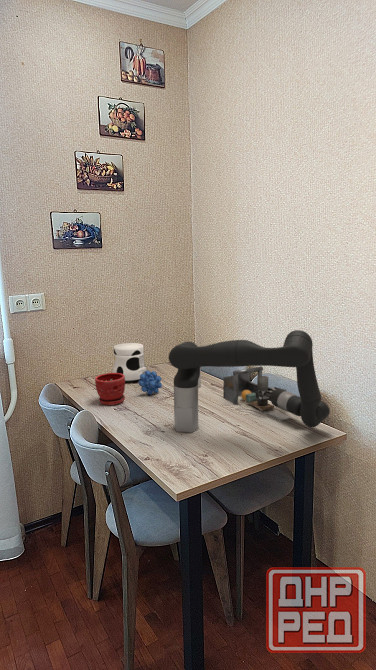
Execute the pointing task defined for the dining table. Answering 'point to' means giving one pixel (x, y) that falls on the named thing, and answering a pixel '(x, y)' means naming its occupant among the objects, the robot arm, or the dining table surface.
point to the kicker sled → (262, 386)
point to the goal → (239, 383)
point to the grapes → (150, 382)
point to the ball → (245, 394)
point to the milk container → (129, 361)
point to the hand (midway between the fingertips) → (258, 389)
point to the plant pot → (110, 388)
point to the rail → (276, 414)
